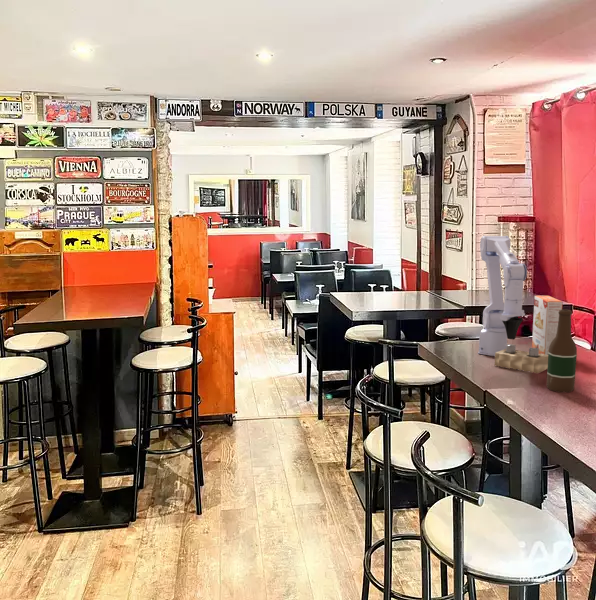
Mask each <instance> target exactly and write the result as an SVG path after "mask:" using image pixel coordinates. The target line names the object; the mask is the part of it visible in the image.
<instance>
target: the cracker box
mask: <svg viewBox="0 0 596 600" xmlns="http://www.w3.org/2000/svg"><path fill="white" fill-rule="evenodd" d="M533 302H534V303H533V317H532V318H533V320H532V321H533V322H532V341H531V342H532V343H531V348H538V349H539V354H544V355H548V353H549V346H550V344H551V342H552V340H553V339H554V338H555V337H556V334H557V328H558V321H559V313H558V312H559V310H562V309H563V305H564V304H563V303H564V302H563V301H562V300H560V299H557V298H555V297H553V296H550V295H534V297H533Z"/></svg>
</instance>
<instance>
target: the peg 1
mask: <svg viewBox="0 0 596 600" xmlns="http://www.w3.org/2000/svg"><path fill="white" fill-rule="evenodd" d="M515 350H516V344H513V343H512V344H511V343H509V344H508V343H507V345H506V353H510V354H515Z"/></svg>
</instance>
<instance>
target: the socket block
mask: <svg viewBox="0 0 596 600" xmlns="http://www.w3.org/2000/svg"><path fill="white" fill-rule="evenodd" d="M495 365H496V366H495ZM494 366H495V367H499V366H502V367H501V368H504V367H507V369H510V368H513V369H512V370H516V369H519V370H518V371H521V370H524V371H523V372H527V371H530V372H529V373H533V372H534V373H533V374H539V373H542V372H544V371H545V370H546V371H547V368H548V355H544V354H539V355H538V358H535V357H529V351H524V350H519V349H518V350H517V349H515V354H510V353H506V349H504V350H501V351H499V352H496V353H495V356H494Z"/></svg>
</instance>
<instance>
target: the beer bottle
mask: <svg viewBox="0 0 596 600" xmlns="http://www.w3.org/2000/svg"><path fill="white" fill-rule="evenodd" d="M558 313H559V321H558V328H557V334H556V337H555V338H554V339H553V340H552V342H551V344H550V346H549V353H548V368H547V369H546V371H547V374H546V388H547V389H549V391H551V390H552V392H556V391H557V392H558V393H571V392H572V391H574V390H575V383H576V368H577V356H578V353H577V351H578V350H577V344H576V342H575V340H574V339H573V337H572V314H573V311H572V310H570V309H563V308H562V310H559V312H558Z"/></svg>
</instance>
